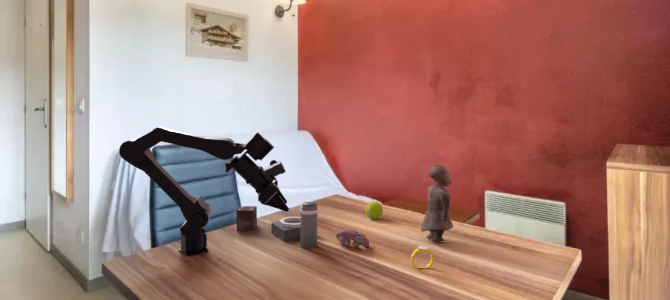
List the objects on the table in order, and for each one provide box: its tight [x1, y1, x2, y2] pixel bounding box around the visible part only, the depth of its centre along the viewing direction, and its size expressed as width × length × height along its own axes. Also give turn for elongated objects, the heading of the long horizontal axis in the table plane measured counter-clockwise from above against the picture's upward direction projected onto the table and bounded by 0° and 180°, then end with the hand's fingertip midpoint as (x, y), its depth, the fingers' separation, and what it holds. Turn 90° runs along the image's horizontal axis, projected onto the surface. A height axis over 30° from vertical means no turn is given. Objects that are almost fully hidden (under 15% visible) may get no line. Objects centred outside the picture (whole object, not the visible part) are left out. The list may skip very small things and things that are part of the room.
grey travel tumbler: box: [299, 201, 319, 250], centre depth 125 cm, size 5×5×14 cm
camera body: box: [270, 216, 301, 242], centre depth 136 cm, size 12×10×5 cm
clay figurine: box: [420, 165, 454, 243], centre depth 131 cm, size 13×10×25 cm
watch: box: [410, 245, 435, 269], centre depth 110 cm, size 6×3×6 cm, turn 96°
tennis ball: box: [365, 201, 384, 220], centre depth 157 cm, size 7×7×7 cm
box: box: [236, 205, 258, 232], centre depth 142 cm, size 6×6×7 cm
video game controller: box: [335, 228, 370, 249], centre depth 125 cm, size 10×5×7 cm
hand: (287, 206), depth 123 cm, fingers open, 9 cm apart
